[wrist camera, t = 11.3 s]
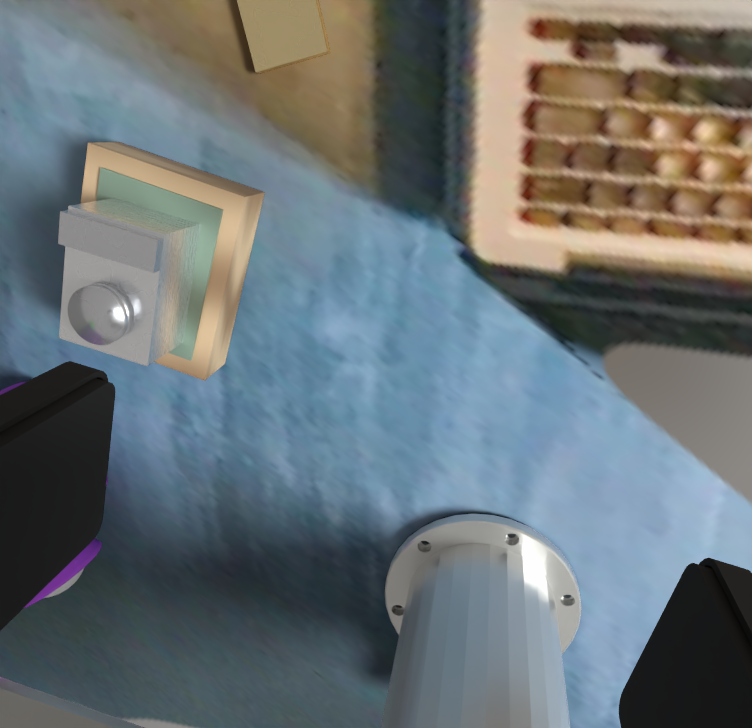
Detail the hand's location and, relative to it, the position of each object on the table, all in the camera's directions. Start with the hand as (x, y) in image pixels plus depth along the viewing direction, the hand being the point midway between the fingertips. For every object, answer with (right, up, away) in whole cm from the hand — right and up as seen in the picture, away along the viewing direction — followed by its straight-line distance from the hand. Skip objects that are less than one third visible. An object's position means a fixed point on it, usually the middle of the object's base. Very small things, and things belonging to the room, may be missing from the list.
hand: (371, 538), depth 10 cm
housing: (-13, +8, +26) cm, 30 cm away
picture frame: (-12, +9, +29) cm, 32 cm away
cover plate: (-5, +22, +23) cm, 32 cm away
